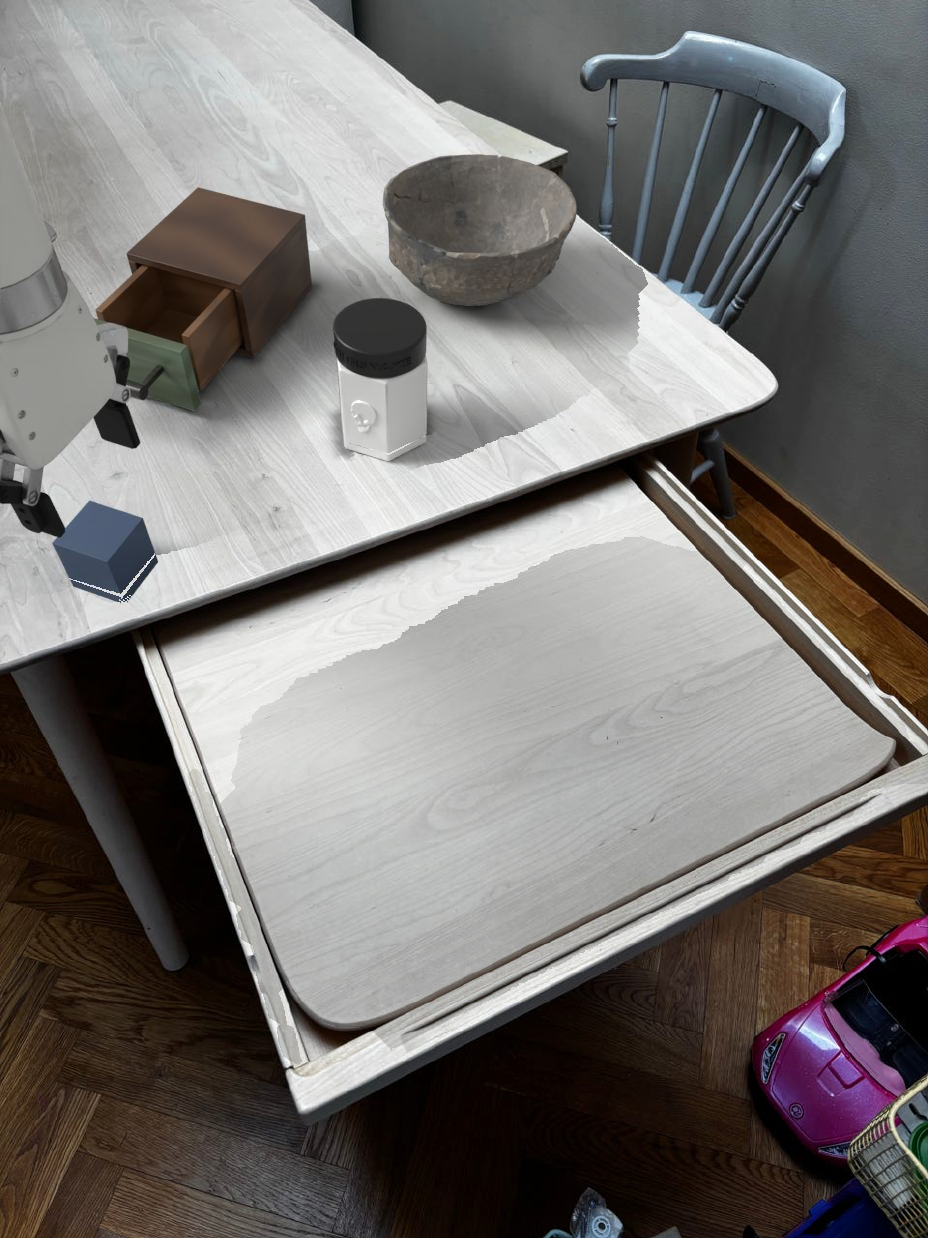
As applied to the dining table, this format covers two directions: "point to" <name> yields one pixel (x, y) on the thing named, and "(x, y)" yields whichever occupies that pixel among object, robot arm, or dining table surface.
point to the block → (106, 550)
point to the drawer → (173, 333)
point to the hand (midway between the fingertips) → (85, 484)
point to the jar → (382, 376)
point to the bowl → (477, 226)
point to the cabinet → (235, 256)
